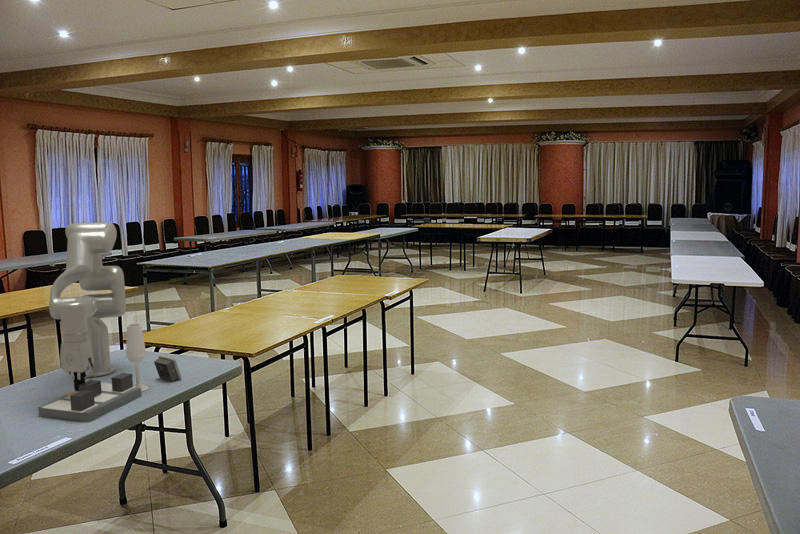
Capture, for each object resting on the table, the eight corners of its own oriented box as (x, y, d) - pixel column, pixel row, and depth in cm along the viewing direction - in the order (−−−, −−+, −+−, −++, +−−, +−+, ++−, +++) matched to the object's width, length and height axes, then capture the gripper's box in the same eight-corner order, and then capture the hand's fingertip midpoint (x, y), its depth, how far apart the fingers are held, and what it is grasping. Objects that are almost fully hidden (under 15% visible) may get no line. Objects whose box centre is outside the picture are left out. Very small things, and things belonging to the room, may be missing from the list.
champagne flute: (129, 393, 214) (124, 328, 211) (128, 387, 220) (123, 324, 217) (149, 390, 217) (145, 326, 214) (147, 384, 223) (143, 322, 220)
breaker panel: (37, 416, 193) (35, 392, 192) (95, 390, 217) (94, 369, 216) (88, 422, 188) (86, 398, 187) (142, 395, 212) (140, 373, 211)
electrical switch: (182, 379, 229) (178, 356, 227) (170, 384, 225) (167, 361, 223) (167, 375, 234) (163, 353, 232) (155, 380, 230) (151, 357, 228)
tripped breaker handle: (79, 397, 200) (78, 384, 199) (92, 392, 205) (91, 379, 205) (89, 398, 199) (88, 385, 198) (101, 393, 204) (100, 380, 204)
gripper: (48, 338, 199) (53, 391, 202) (85, 341, 195) (89, 395, 197) (66, 333, 206) (71, 384, 209) (102, 336, 202) (106, 388, 205)
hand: (80, 389), depth 203 cm, fingers closed
